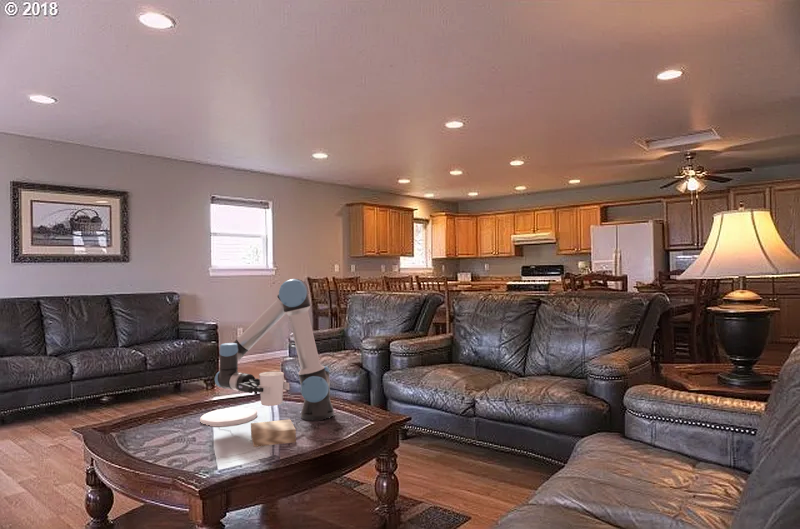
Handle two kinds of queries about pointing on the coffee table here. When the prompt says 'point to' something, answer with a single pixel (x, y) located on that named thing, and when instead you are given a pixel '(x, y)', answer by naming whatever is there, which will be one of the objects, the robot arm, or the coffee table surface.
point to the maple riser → (273, 433)
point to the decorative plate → (228, 416)
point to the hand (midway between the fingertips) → (279, 388)
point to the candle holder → (272, 387)
